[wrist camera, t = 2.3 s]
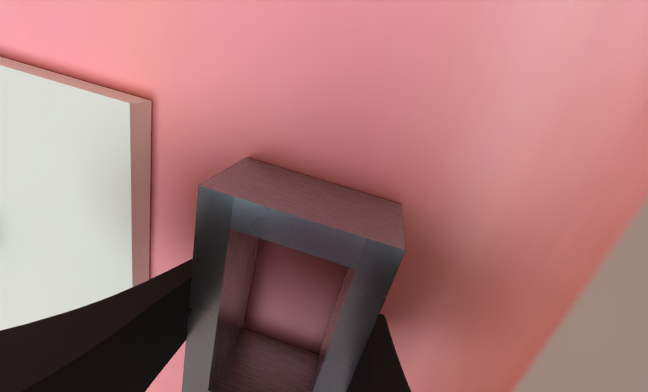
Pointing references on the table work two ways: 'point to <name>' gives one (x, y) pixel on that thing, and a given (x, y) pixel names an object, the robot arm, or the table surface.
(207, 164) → the table surface
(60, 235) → the keeper board
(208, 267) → the grey rectangular frame
